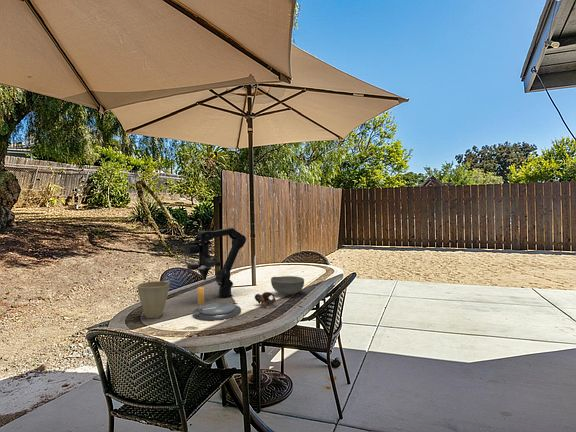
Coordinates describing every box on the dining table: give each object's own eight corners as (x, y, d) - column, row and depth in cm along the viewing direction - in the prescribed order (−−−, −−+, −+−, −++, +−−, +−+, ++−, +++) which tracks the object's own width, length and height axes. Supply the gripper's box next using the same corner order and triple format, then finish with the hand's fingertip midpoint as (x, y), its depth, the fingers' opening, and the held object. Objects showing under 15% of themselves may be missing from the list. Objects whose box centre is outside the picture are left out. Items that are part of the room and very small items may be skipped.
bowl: (291, 300, 200) (291, 283, 199) (264, 295, 212) (264, 279, 212) (310, 293, 216) (310, 277, 215) (284, 288, 228) (284, 273, 228)
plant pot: (151, 322, 165) (150, 289, 164) (131, 317, 172) (130, 285, 172) (176, 314, 177) (175, 282, 177) (157, 309, 185) (156, 279, 185)
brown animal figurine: (276, 303, 196) (278, 292, 191) (271, 315, 188) (273, 304, 183) (256, 297, 197) (257, 286, 193) (250, 309, 189) (251, 298, 185)
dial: (229, 303, 190) (229, 280, 190) (239, 312, 174) (239, 287, 173) (194, 307, 182) (194, 284, 182) (201, 317, 166) (201, 291, 165)
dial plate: (223, 303, 195) (223, 300, 195) (250, 312, 178) (250, 309, 178) (183, 313, 178) (183, 310, 178) (208, 324, 161) (208, 320, 161)
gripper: (196, 256, 188) (196, 285, 189) (225, 252, 201) (226, 279, 202) (186, 254, 196) (186, 282, 197) (215, 250, 209) (215, 277, 210)
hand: (204, 280), depth 201 cm, fingers closed
